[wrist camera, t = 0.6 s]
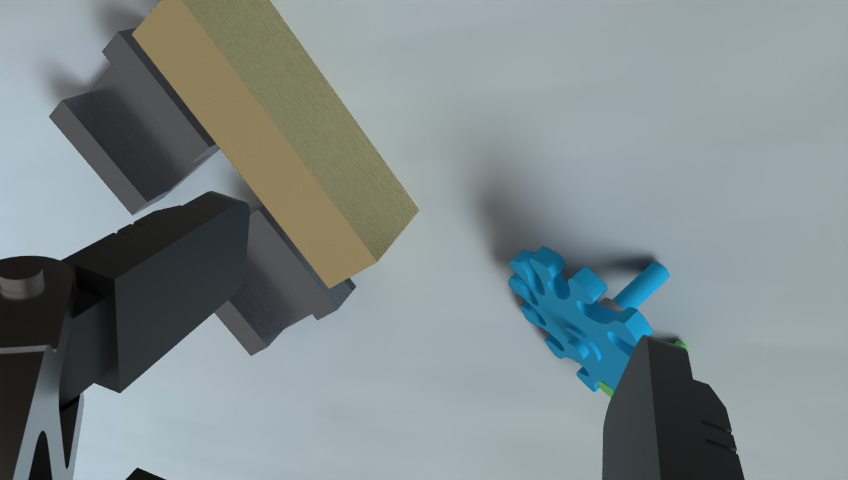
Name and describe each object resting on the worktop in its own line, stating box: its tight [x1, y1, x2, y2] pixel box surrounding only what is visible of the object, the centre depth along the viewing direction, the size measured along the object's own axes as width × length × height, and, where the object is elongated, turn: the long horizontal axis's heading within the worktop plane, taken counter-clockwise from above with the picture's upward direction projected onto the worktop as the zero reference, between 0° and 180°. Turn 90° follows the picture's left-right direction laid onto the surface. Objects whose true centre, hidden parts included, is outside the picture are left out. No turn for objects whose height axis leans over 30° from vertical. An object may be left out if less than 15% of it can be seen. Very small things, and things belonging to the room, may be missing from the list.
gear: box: [509, 246, 689, 398], centre depth 28 cm, size 11×6×10 cm
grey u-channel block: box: [49, 28, 356, 356], centre depth 34 cm, size 8×18×2 cm, turn 38°
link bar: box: [132, 0, 419, 289], centre depth 28 cm, size 3×14×6 cm, turn 38°
